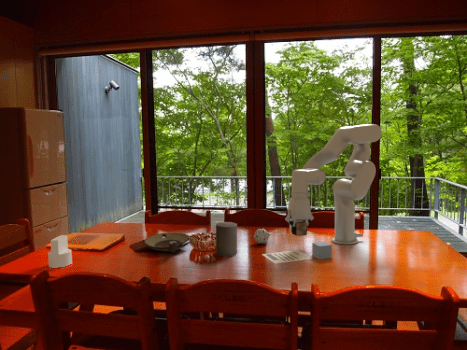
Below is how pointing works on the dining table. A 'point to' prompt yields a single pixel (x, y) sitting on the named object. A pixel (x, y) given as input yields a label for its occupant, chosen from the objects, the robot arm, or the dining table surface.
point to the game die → (261, 236)
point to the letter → (286, 256)
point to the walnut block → (301, 228)
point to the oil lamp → (167, 241)
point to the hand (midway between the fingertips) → (299, 233)
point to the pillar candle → (226, 239)
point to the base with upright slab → (59, 252)
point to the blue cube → (322, 250)
